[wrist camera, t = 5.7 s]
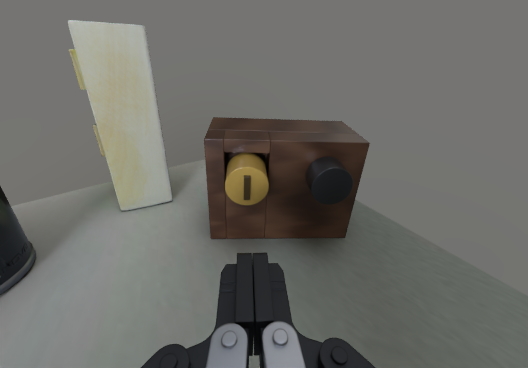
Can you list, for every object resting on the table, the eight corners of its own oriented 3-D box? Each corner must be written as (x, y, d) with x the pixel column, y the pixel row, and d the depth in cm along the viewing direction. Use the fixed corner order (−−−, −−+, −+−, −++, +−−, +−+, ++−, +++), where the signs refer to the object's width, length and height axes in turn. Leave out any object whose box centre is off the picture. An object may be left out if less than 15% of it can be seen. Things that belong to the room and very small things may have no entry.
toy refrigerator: (113, 186, 38) (68, 22, 28) (164, 177, 42) (140, 27, 31) (113, 214, 32) (56, 18, 22) (173, 201, 35) (147, 25, 25)
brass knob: (225, 207, 23) (223, 168, 21) (227, 187, 27) (226, 151, 25) (268, 207, 24) (270, 169, 22) (264, 187, 27) (267, 152, 25)
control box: (207, 256, 27) (199, 149, 21) (217, 201, 36) (213, 117, 30) (353, 253, 28) (383, 153, 22) (326, 201, 37) (342, 121, 32)
